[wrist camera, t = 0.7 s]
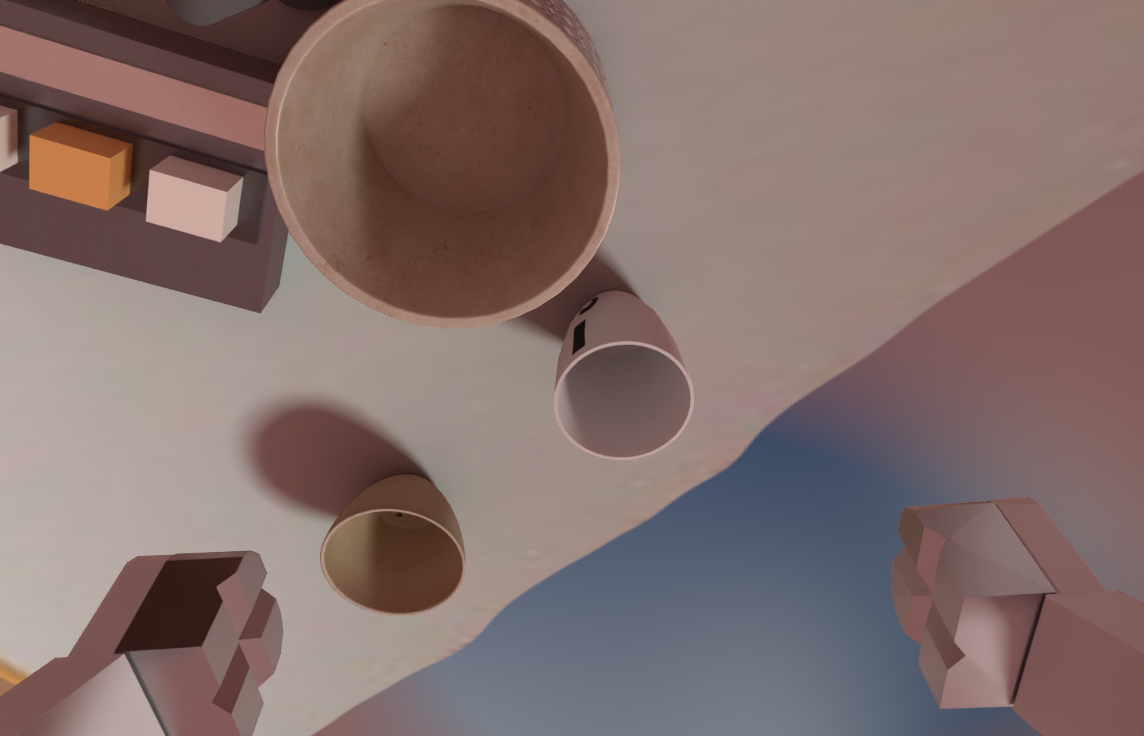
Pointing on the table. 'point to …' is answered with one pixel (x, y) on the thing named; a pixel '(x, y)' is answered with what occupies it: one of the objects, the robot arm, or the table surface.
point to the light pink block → (8, 137)
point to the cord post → (227, 8)
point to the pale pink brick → (193, 198)
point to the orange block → (80, 165)
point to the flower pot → (395, 548)
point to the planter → (445, 154)
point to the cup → (621, 380)
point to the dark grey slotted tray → (140, 145)
